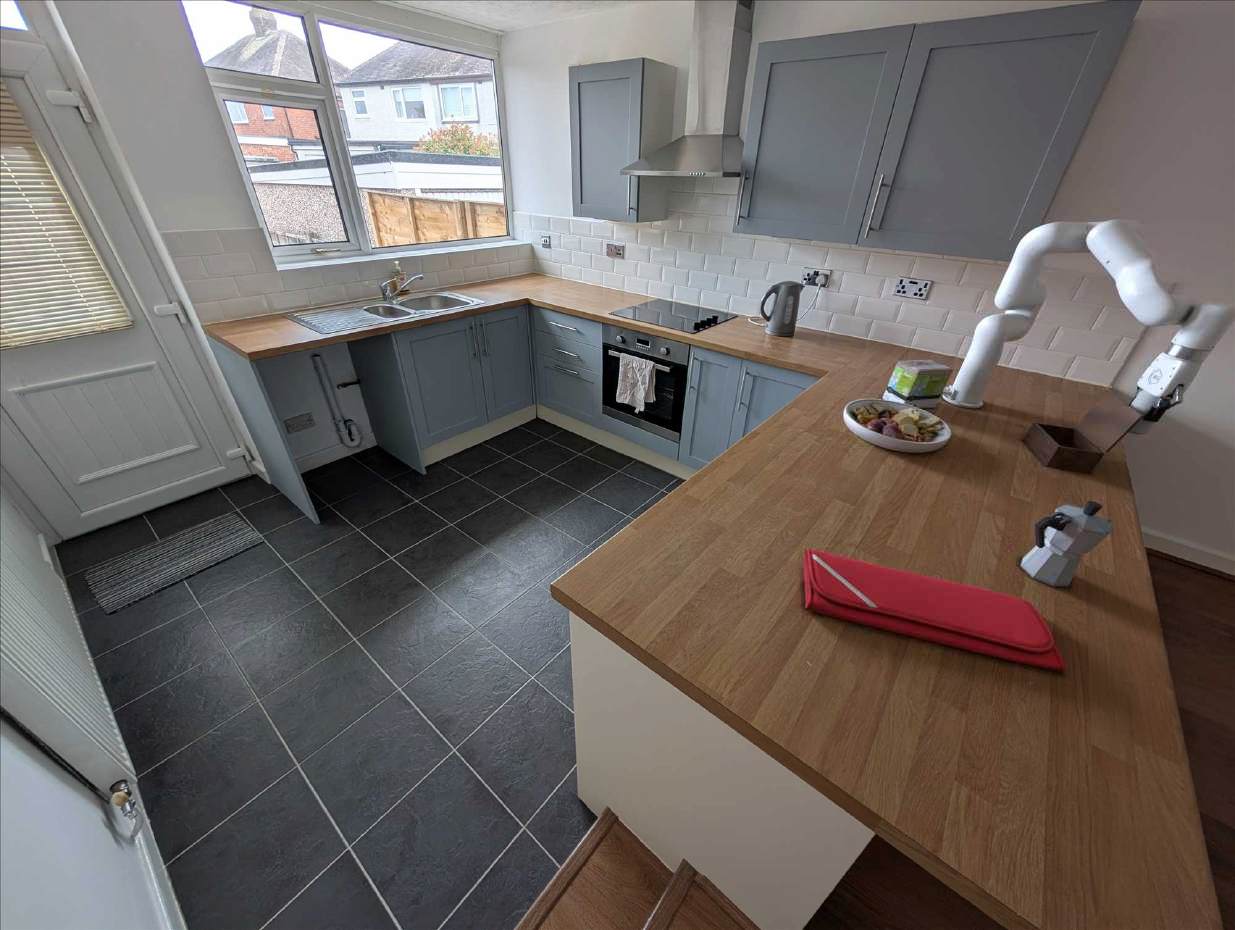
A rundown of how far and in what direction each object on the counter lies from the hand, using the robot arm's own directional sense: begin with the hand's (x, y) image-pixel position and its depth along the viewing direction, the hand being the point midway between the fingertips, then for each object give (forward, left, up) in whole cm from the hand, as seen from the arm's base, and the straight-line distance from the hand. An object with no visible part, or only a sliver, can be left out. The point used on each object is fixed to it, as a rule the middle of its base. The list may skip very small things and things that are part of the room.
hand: (1141, 414), depth 131 cm
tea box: (-49, +25, -16) cm, 57 cm away
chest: (-13, 0, -16) cm, 21 cm away
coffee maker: (-41, -60, -16) cm, 74 cm away
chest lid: (-7, 0, -3) cm, 7 cm away
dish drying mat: (-69, -80, -16) cm, 107 cm away
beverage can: (0, 0, -5) cm, 5 cm away
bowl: (-60, -3, -16) cm, 62 cm away
